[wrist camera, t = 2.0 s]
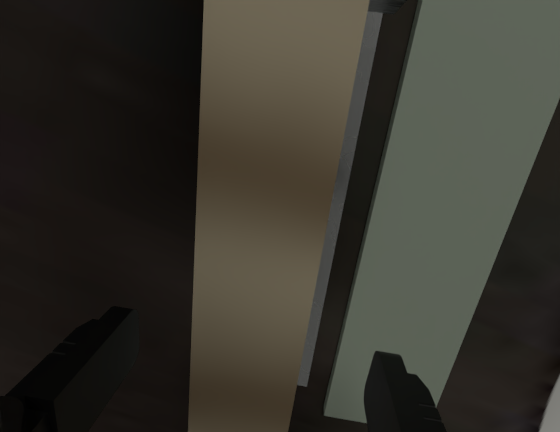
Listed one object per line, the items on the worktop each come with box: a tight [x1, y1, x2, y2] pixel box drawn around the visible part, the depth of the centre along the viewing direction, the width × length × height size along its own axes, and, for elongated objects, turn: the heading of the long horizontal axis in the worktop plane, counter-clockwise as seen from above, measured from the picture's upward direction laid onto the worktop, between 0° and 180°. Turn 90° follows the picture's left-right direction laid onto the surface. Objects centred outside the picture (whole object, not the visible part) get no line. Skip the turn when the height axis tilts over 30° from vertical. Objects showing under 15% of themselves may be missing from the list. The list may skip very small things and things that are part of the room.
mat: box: [324, 0, 560, 423], centre depth 23 cm, size 36×9×1 cm, turn 173°
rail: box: [188, 0, 370, 432], centre depth 11 cm, size 32×3×3 cm, turn 173°
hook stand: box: [297, 0, 407, 387], centre depth 17 cm, size 30×8×15 cm, turn 173°
